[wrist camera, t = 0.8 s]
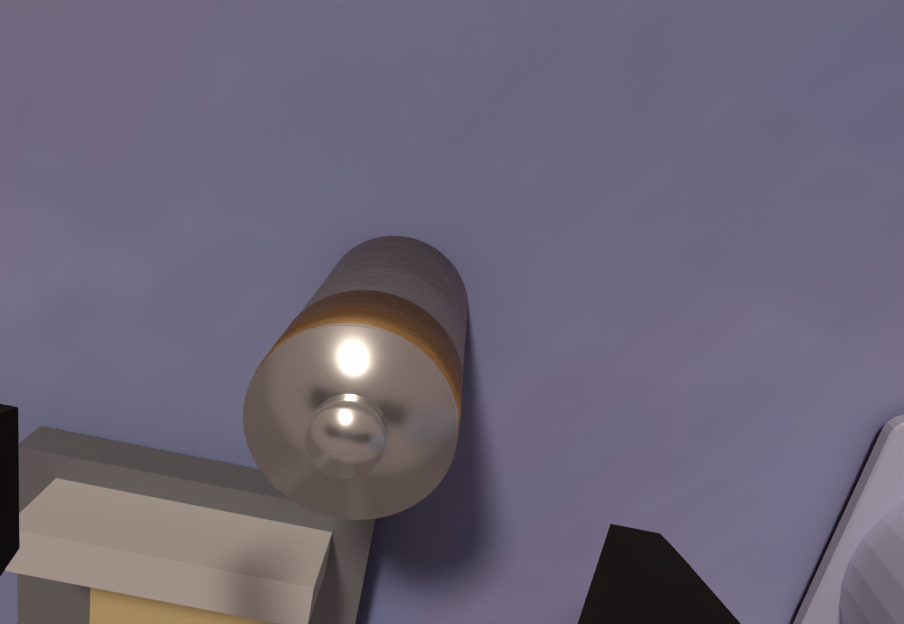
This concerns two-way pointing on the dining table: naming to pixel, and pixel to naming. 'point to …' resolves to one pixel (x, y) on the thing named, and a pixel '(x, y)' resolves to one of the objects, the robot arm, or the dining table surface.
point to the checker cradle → (173, 541)
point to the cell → (365, 384)
